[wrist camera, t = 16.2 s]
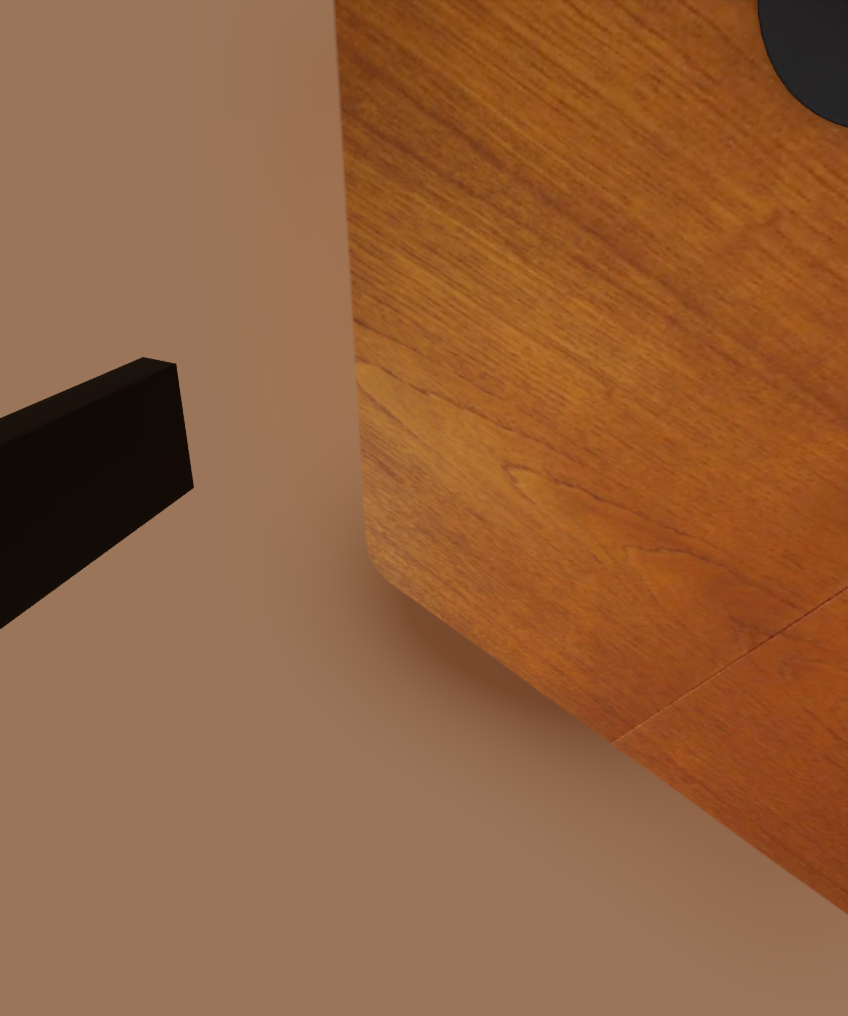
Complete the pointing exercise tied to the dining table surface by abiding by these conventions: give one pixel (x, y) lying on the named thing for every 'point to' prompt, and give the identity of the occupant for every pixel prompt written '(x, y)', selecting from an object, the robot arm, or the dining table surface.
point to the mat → (810, 52)
